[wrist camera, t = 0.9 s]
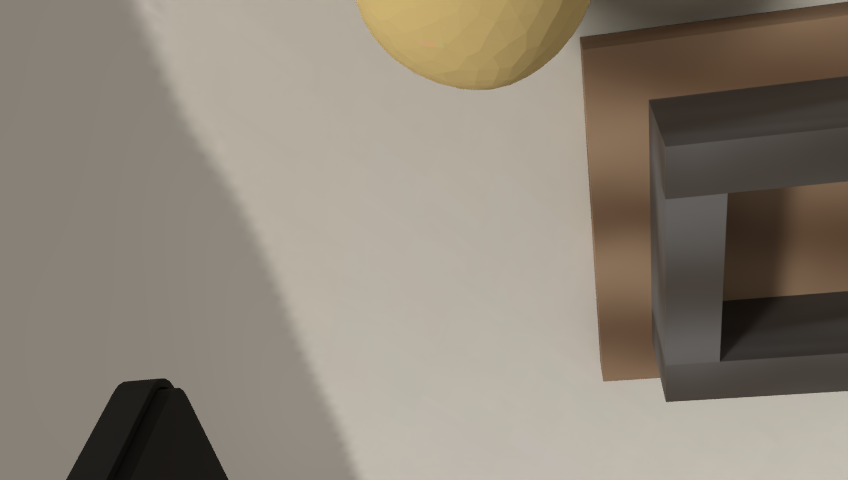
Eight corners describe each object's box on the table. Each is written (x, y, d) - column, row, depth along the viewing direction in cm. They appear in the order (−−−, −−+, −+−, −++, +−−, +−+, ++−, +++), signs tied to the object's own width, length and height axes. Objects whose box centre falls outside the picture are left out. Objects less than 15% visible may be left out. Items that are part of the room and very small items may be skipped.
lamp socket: (580, 37, 29) (592, 92, 25) (1072, -29, 26) (1173, 22, 22) (600, 363, 38) (612, 442, 34) (971, 337, 35) (1031, 419, 31)
